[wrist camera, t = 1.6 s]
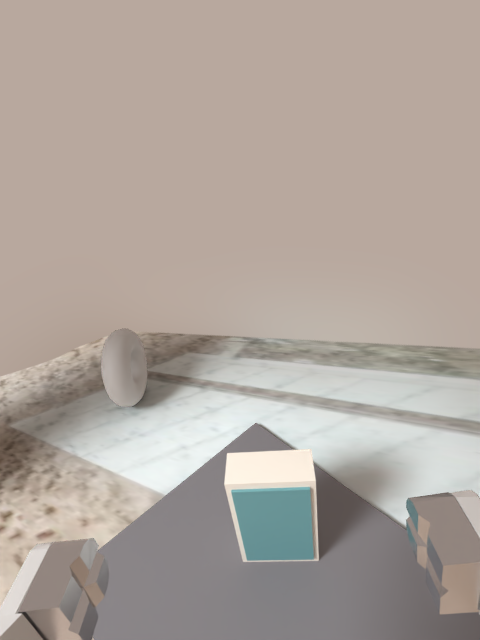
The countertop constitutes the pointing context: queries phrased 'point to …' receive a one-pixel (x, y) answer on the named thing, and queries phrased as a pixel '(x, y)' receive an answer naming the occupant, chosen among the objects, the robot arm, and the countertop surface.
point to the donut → (124, 368)
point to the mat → (267, 572)
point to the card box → (273, 504)
